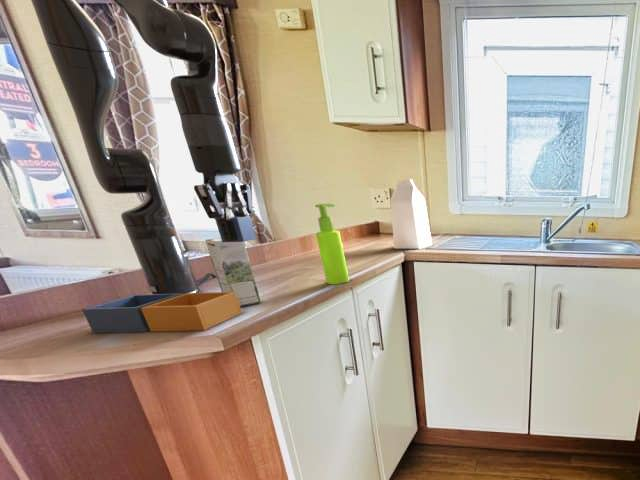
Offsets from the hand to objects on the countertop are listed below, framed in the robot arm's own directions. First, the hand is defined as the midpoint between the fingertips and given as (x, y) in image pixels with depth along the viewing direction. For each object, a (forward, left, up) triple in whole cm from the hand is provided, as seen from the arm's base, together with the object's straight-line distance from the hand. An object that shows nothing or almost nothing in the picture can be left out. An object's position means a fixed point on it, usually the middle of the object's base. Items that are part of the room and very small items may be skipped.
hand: (239, 238), depth 87 cm
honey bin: (+10, -7, -15) cm, 19 cm away
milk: (-99, +10, -15) cm, 101 cm away
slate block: (0, 0, 0) cm, 0 cm away
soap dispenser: (-27, +7, -15) cm, 32 cm away
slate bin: (+10, -18, -15) cm, 25 cm away
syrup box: (-4, -6, -15) cm, 17 cm away
